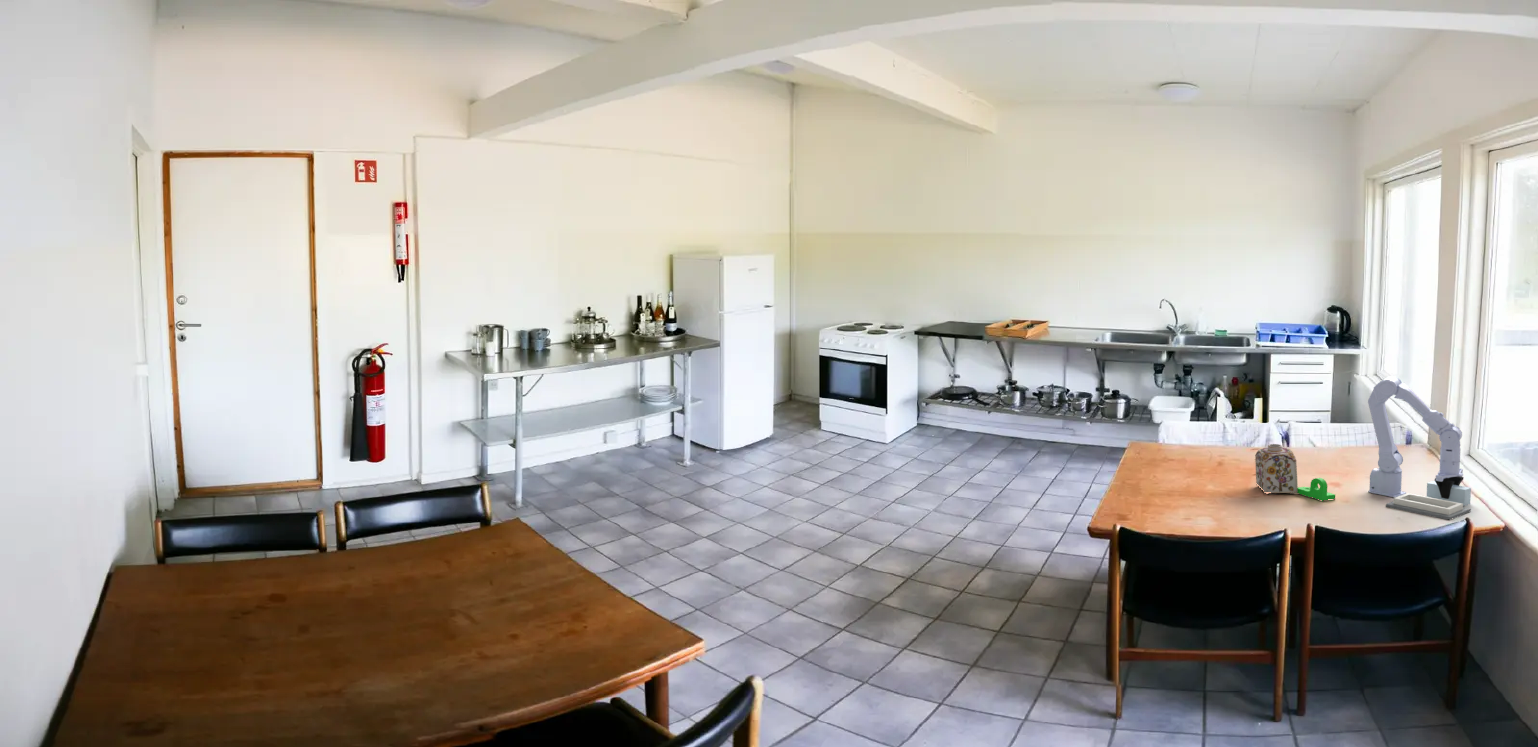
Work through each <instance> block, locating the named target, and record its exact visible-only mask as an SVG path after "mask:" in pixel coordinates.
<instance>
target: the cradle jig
mask: <svg viewBox="0 0 1538 747" xmlns="http://www.w3.org/2000/svg"><path fill="white" fill-rule="evenodd" d="M1385 506H1386V507H1387V508H1391V509H1396V510H1400V511H1405V512H1410V513H1416V514H1419V515H1425V516H1429V517H1434V518H1438V519H1442V520H1447V519H1451V520H1453V519H1455V517H1456V518H1458V517H1461V516H1463V515H1465V514H1468V513H1470V512H1471V511H1472V510H1471V508H1468V507H1465V506H1463V504H1462V503H1457V502H1451V501H1446V500H1441V499H1436V498H1431V497H1427V495H1426V496H1425V495H1420V494H1415V493H1411V492H1406V494H1404V495H1401V496H1398V497H1393V501H1390V502H1387V503H1386V504H1385ZM1460 515H1461V516H1460ZM1457 516H1458V517H1457ZM1452 518H1453V519H1452Z"/></svg>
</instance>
